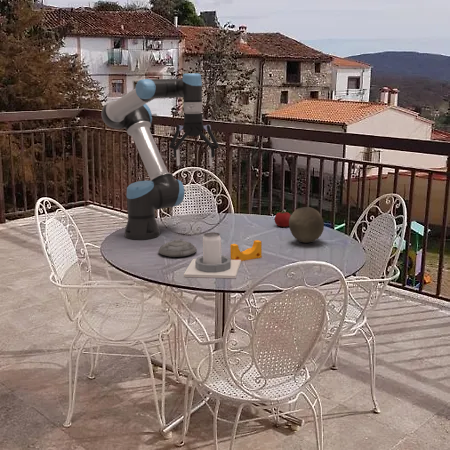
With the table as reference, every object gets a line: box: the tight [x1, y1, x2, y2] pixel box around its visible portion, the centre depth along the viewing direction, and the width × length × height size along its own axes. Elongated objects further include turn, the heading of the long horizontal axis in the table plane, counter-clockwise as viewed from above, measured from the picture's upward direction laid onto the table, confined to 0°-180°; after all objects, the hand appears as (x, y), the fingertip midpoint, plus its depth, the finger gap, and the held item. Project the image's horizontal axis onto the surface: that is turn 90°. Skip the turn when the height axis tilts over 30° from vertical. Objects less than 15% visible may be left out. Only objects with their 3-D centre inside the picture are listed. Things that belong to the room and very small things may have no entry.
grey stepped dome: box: [158, 239, 198, 258], centre depth 230 cm, size 15×15×6 cm
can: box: [202, 232, 222, 265], centre depth 208 cm, size 6×6×12 cm
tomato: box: [274, 210, 292, 228], centre depth 269 cm, size 8×8×7 cm
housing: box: [183, 254, 242, 279], centre depth 209 cm, size 18×18×4 cm
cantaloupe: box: [288, 206, 325, 244], centre depth 239 cm, size 14×14×15 cm
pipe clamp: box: [229, 239, 263, 262], centre depth 222 cm, size 12×4×6 cm, turn 118°
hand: (194, 165), depth 241 cm, fingers open, 13 cm apart
